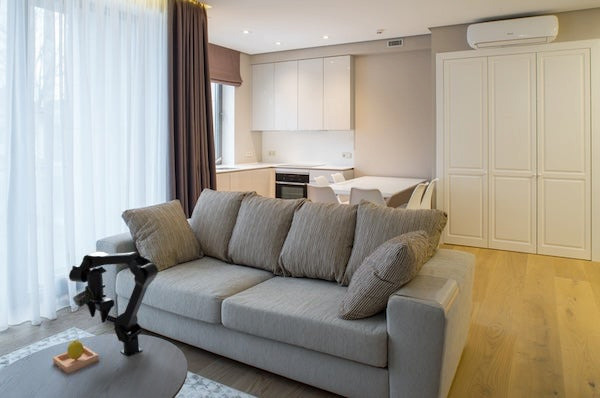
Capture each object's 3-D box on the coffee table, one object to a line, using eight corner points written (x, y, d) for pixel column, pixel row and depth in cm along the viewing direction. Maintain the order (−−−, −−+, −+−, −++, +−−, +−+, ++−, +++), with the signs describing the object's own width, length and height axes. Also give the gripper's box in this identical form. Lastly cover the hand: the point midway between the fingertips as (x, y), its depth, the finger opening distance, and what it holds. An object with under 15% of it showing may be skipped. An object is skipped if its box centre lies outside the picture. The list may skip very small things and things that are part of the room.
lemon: (81, 355, 174) (79, 336, 173) (86, 360, 170) (84, 340, 169) (66, 360, 170) (64, 340, 169) (71, 365, 167) (69, 345, 165)
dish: (98, 360, 171) (98, 354, 171) (66, 373, 162) (66, 367, 162) (84, 351, 179) (84, 345, 179) (53, 363, 170) (52, 357, 169)
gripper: (64, 283, 179) (68, 320, 181) (85, 293, 167) (89, 332, 169) (92, 276, 187) (94, 311, 189) (113, 285, 175) (116, 322, 178)
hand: (98, 319), depth 181 cm, fingers open, 9 cm apart
